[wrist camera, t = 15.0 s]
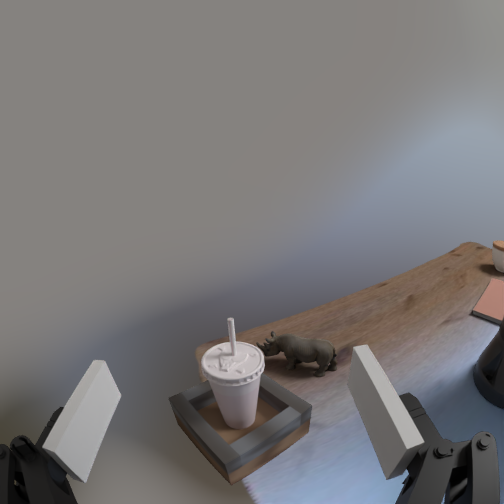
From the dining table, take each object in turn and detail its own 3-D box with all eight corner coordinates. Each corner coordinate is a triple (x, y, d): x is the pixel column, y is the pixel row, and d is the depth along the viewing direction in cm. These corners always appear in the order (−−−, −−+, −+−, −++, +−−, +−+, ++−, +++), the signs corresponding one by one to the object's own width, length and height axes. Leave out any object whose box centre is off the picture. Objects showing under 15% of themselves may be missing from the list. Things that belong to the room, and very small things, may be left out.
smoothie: (272, 405, 31) (271, 309, 27) (257, 443, 25) (250, 347, 21) (225, 395, 33) (212, 303, 29) (204, 429, 27) (180, 334, 23)
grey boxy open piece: (248, 388, 38) (246, 361, 37) (308, 432, 29) (312, 405, 28) (178, 424, 31) (168, 397, 29) (231, 485, 22) (225, 464, 20)
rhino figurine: (263, 349, 48) (261, 321, 46) (338, 365, 42) (342, 335, 40) (252, 362, 44) (250, 333, 43) (332, 381, 38) (336, 351, 36)
